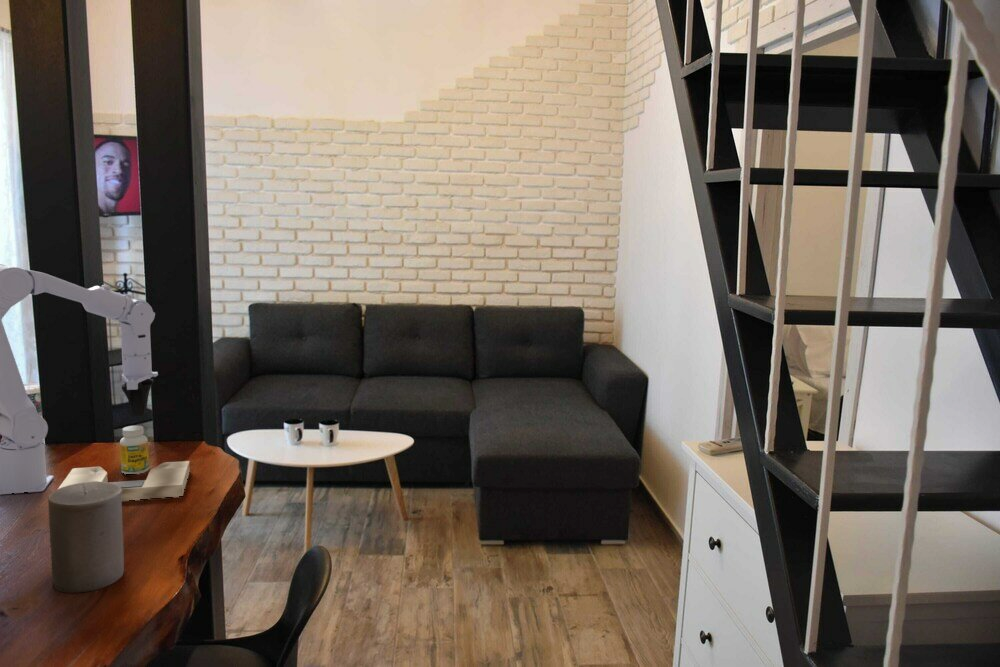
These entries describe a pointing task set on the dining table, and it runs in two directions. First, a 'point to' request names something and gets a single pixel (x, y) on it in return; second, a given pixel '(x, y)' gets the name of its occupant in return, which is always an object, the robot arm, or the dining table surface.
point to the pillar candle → (86, 536)
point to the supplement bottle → (134, 450)
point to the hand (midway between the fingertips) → (139, 413)
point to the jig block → (140, 481)
